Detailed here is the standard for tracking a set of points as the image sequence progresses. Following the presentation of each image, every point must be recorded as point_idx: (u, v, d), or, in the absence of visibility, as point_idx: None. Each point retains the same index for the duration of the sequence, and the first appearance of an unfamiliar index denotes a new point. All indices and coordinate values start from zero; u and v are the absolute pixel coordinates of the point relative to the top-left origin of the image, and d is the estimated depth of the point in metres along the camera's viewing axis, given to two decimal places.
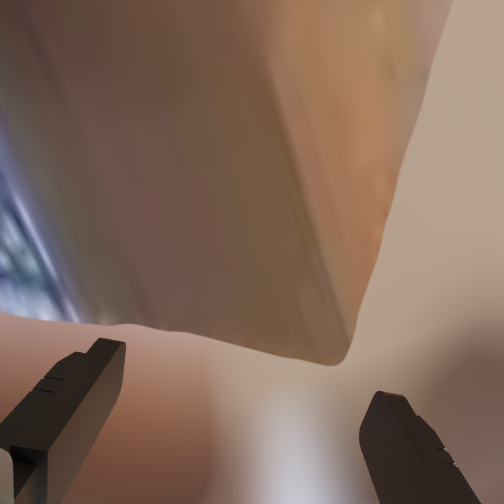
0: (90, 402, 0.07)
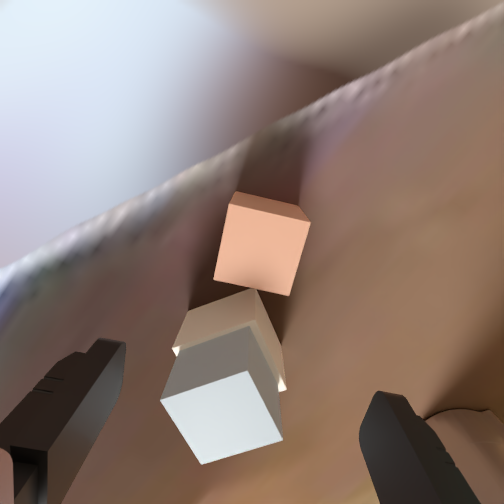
0: (90, 402, 0.07)
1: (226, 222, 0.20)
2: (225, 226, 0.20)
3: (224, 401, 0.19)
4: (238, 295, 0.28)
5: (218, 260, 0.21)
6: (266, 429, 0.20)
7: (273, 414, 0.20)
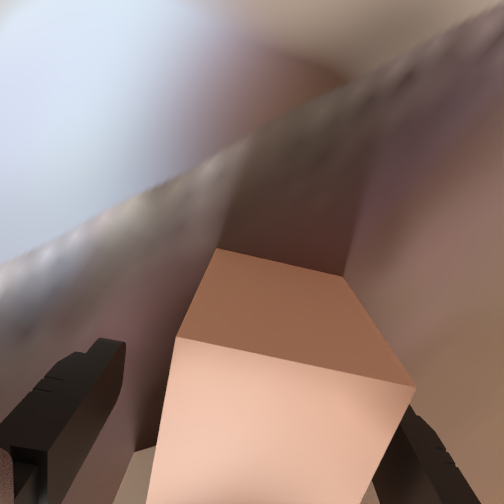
0: (90, 402, 0.07)
1: (171, 383, 0.07)
2: (169, 392, 0.07)
3: None
4: None
5: (155, 468, 0.08)
6: None
7: None
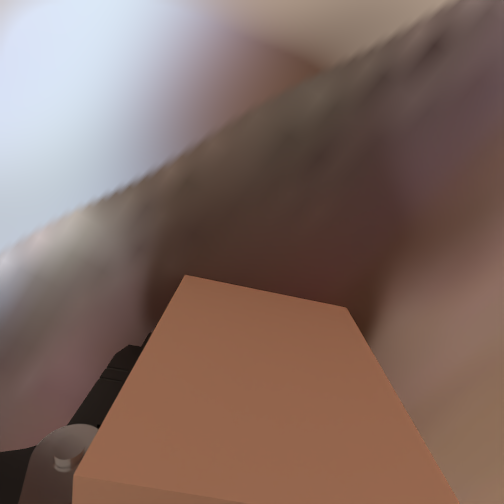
0: None
1: None
2: None
3: None
4: None
5: None
6: None
7: None
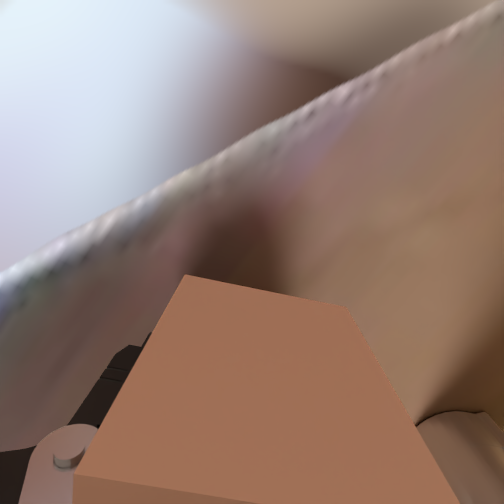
0: None
1: None
2: None
3: None
4: None
5: None
6: None
7: None
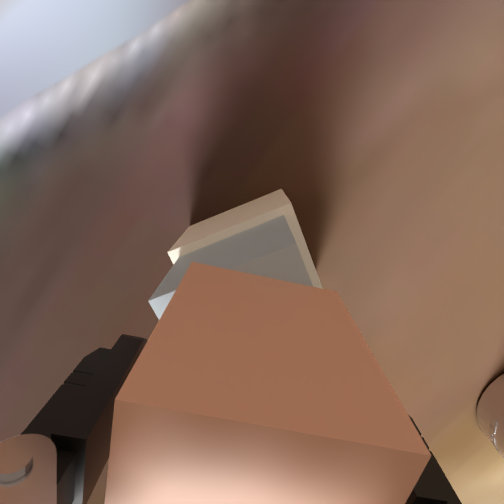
0: None
1: (114, 456, 0.05)
2: (112, 466, 0.06)
3: None
4: (259, 199, 0.21)
5: None
6: None
7: None
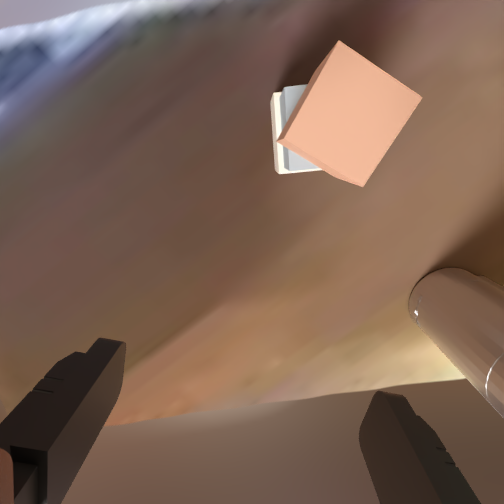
0: (90, 402, 0.07)
1: (326, 65, 0.16)
2: (323, 70, 0.16)
3: None
4: None
5: (299, 114, 0.17)
6: None
7: None
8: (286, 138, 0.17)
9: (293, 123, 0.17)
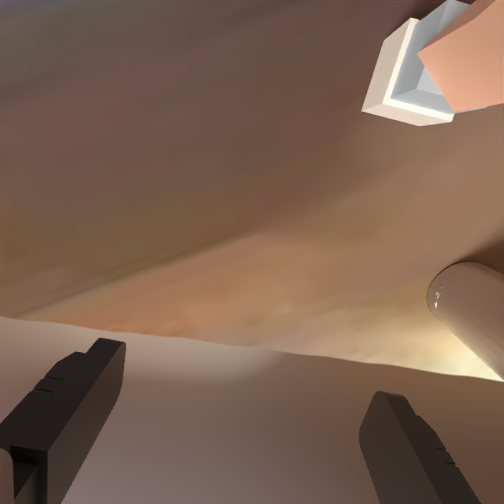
0: (90, 402, 0.07)
1: None
2: None
3: None
4: None
5: None
6: None
7: None
8: (477, 19, 0.17)
9: (490, 6, 0.17)
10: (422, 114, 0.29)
